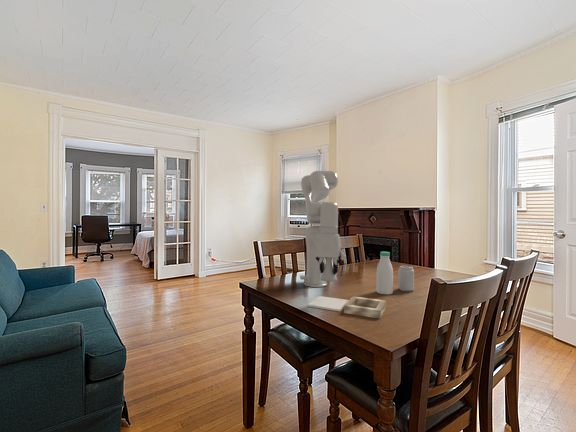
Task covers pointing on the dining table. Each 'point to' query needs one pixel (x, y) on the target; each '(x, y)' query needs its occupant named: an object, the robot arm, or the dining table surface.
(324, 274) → the flask
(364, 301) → the holder
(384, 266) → the milk bottle
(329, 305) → the plate
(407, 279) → the can
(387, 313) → the dining table surface
